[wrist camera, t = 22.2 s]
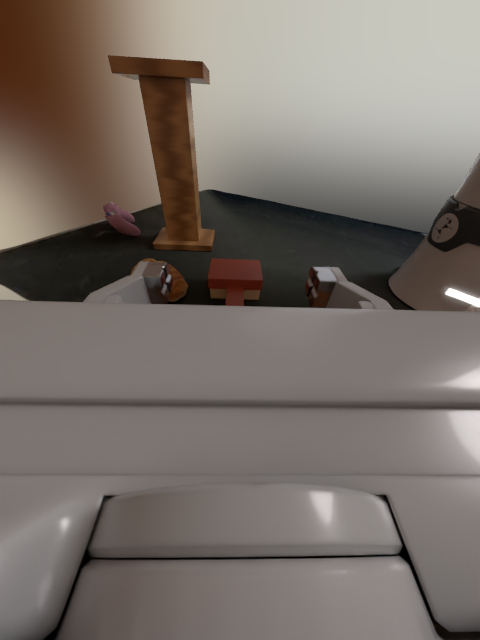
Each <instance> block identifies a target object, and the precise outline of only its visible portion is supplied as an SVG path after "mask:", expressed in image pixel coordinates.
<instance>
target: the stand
mask: <svg viewBox="0 0 480 640" xmlns="http://www.w3.org/2000/svg"><path fill="white" fill-rule="evenodd" d="M108 58H109V62H110V66H111V70H112V73H114V74H117V75H121V76H124V77H127V78H131V79H134V80H139V82H140V88H141V93H142V99H143V104H144V109H145V115H146V120H147V126H148V131H149V137H150V142H151V148H152V153H153V159H154V164H155V169H156V175H157V180H158V186H159V191H160V197H161V202H162V208H163V213H164V218H165V224H166V228H162V230H161V231H160V233H159V234H158V236H157V238H156V239H155V241H154V242H153V248H154V249H164V250H191V251H212V247H213V242H214V237H215V230H211V229H201V216H200V203H199V190H198V178H197V166H196V165H197V164H196V151H195V138H194V125H193V111H192V99H191V85H190V83H198V84H210V83H209V70H208V69H207V67H206V66H205V64H204V63H203V62H200V61H185V60H169V59H153V58H140V57H124V56H109V55H108Z"/></svg>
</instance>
